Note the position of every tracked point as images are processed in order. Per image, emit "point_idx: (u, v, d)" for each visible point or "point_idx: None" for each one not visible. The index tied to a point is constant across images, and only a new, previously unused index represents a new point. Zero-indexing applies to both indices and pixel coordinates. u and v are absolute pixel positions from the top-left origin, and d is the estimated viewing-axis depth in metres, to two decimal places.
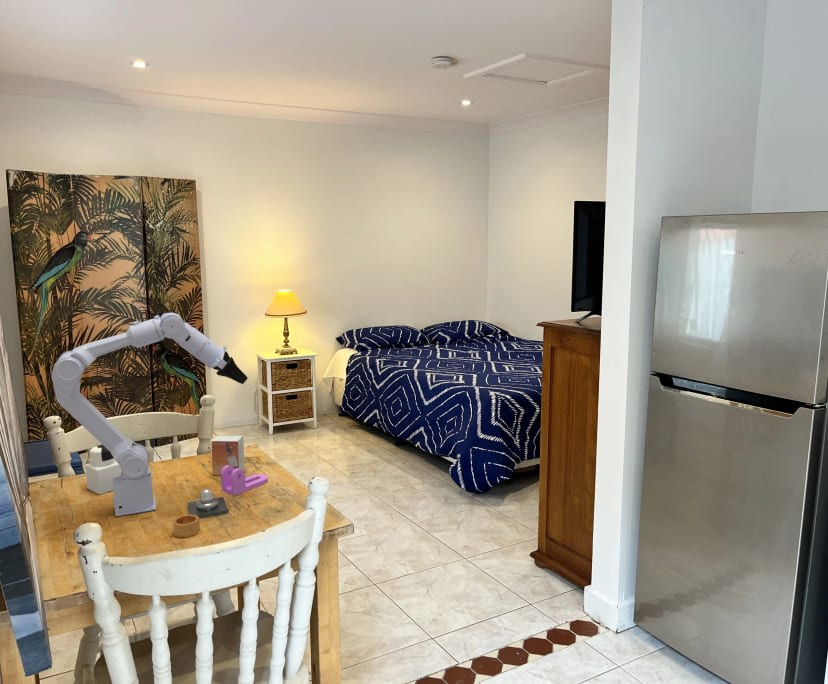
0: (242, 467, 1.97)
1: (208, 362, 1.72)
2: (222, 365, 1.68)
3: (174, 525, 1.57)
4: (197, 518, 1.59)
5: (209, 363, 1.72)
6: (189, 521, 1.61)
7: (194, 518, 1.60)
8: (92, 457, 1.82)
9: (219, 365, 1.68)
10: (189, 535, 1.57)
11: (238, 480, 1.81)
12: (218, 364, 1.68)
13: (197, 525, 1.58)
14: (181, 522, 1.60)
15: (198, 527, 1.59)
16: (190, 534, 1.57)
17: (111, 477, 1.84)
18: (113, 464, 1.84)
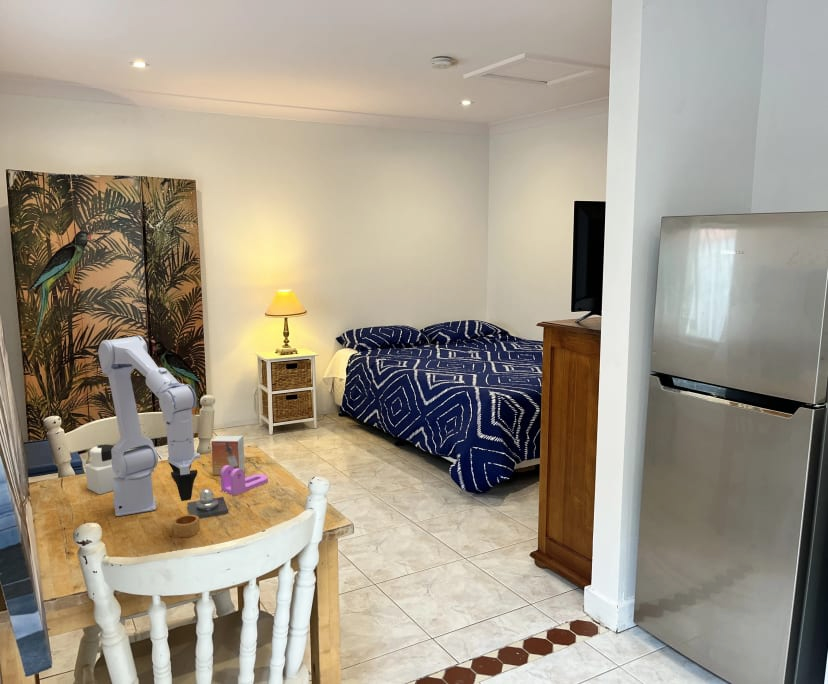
0: (242, 467, 1.97)
1: (173, 457, 1.53)
2: (184, 472, 1.50)
3: (174, 525, 1.57)
4: (197, 518, 1.59)
5: (173, 458, 1.53)
6: (189, 521, 1.61)
7: (194, 518, 1.60)
8: (92, 457, 1.82)
9: (182, 470, 1.49)
10: (189, 535, 1.57)
11: (238, 480, 1.81)
12: (182, 468, 1.49)
13: (197, 525, 1.58)
14: (181, 522, 1.60)
15: (198, 527, 1.59)
16: (190, 534, 1.57)
17: (111, 477, 1.84)
18: None
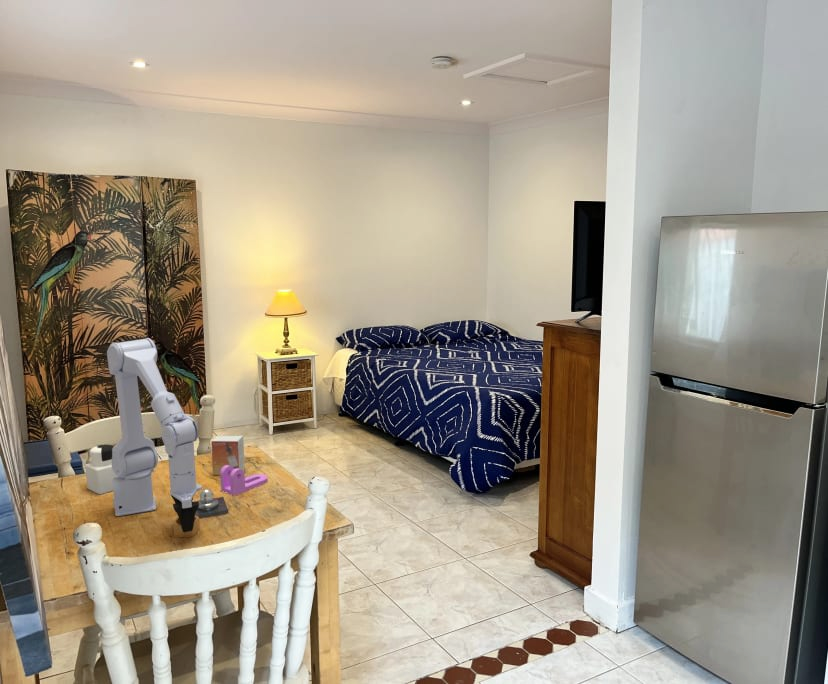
0: (242, 467, 1.97)
1: (175, 489, 1.55)
2: (186, 505, 1.51)
3: (174, 525, 1.57)
4: (197, 518, 1.59)
5: (175, 491, 1.55)
6: None
7: (194, 518, 1.60)
8: (92, 457, 1.82)
9: (184, 503, 1.51)
10: (189, 535, 1.57)
11: (237, 480, 1.81)
12: (184, 502, 1.51)
13: (197, 525, 1.58)
14: None
15: (198, 527, 1.59)
16: (190, 534, 1.57)
17: (111, 477, 1.84)
18: None
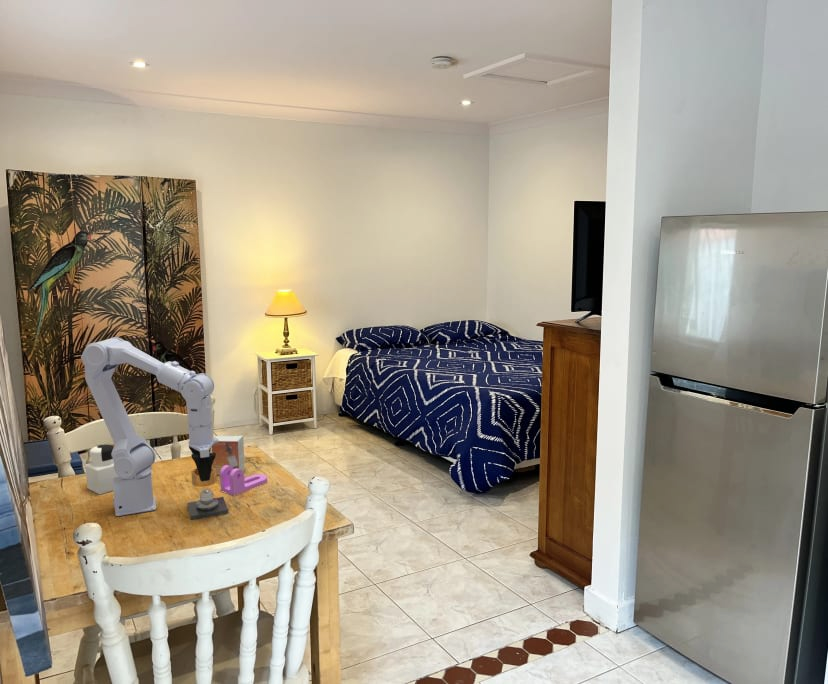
0: (242, 467, 1.97)
1: (194, 441, 1.65)
2: (204, 455, 1.61)
3: (192, 475, 1.67)
4: (214, 469, 1.69)
5: (194, 442, 1.65)
6: None
7: (211, 469, 1.70)
8: (92, 457, 1.82)
9: (202, 453, 1.61)
10: (206, 484, 1.67)
11: (237, 480, 1.81)
12: (202, 451, 1.61)
13: (214, 476, 1.68)
14: None
15: (215, 477, 1.69)
16: (207, 483, 1.67)
17: (111, 477, 1.84)
18: (113, 464, 1.84)
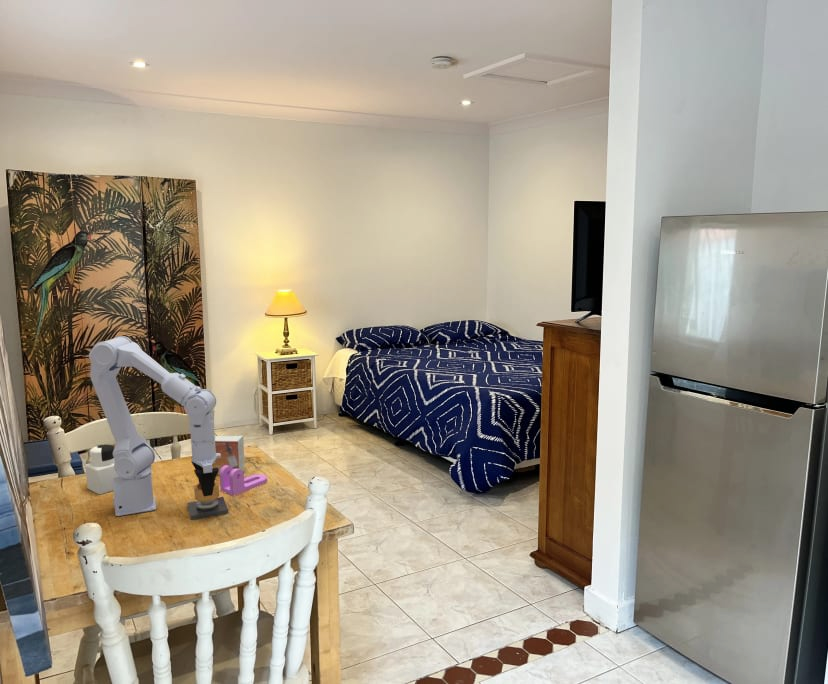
0: (242, 467, 1.97)
1: (197, 456, 1.66)
2: (207, 470, 1.63)
3: (195, 490, 1.68)
4: (216, 484, 1.71)
5: (196, 458, 1.66)
6: None
7: None
8: (92, 457, 1.82)
9: (205, 468, 1.62)
10: (209, 499, 1.68)
11: (237, 480, 1.81)
12: (205, 467, 1.62)
13: (217, 490, 1.70)
14: None
15: (217, 492, 1.70)
16: (210, 498, 1.68)
17: (111, 477, 1.84)
18: (113, 464, 1.84)
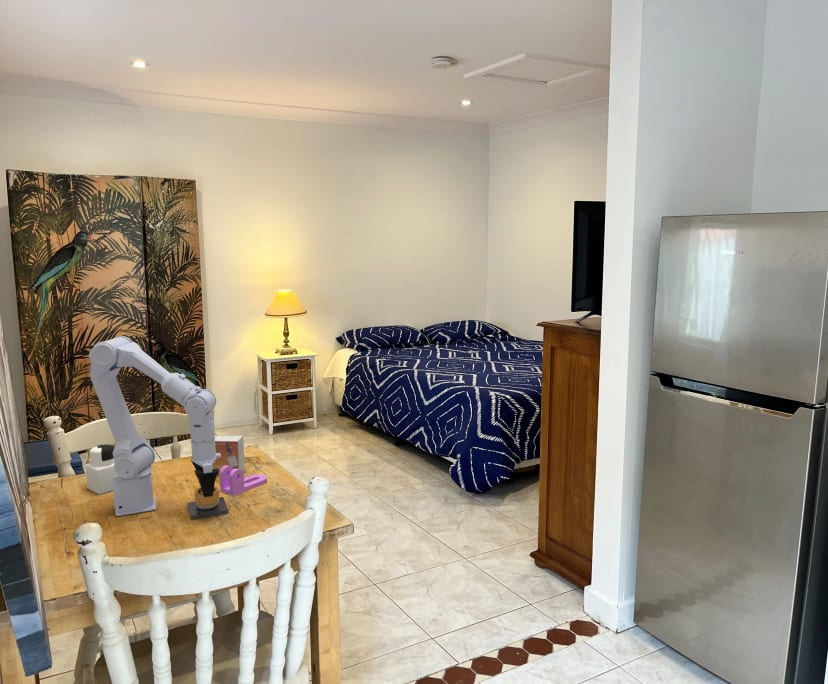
0: (242, 467, 1.97)
1: (197, 456, 1.66)
2: (207, 470, 1.63)
3: (196, 495, 1.69)
4: (217, 489, 1.71)
5: (196, 458, 1.66)
6: None
7: (214, 489, 1.72)
8: (92, 457, 1.82)
9: (205, 468, 1.62)
10: (210, 504, 1.69)
11: (237, 480, 1.81)
12: (205, 467, 1.62)
13: (217, 495, 1.70)
14: None
15: (218, 497, 1.71)
16: (211, 503, 1.69)
17: (111, 477, 1.84)
18: (113, 464, 1.84)
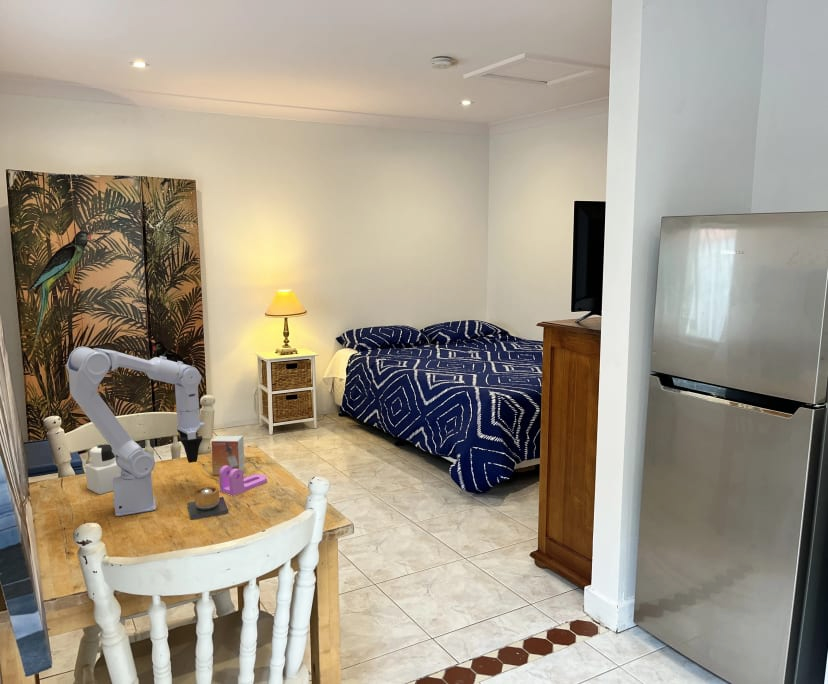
0: (242, 467, 1.97)
1: (182, 424, 1.78)
2: (191, 437, 1.75)
3: (196, 495, 1.69)
4: (217, 489, 1.71)
5: (181, 426, 1.78)
6: None
7: (214, 489, 1.72)
8: (92, 457, 1.82)
9: (189, 435, 1.74)
10: (210, 504, 1.69)
11: (236, 480, 1.80)
12: (189, 434, 1.74)
13: (217, 495, 1.70)
14: None
15: (218, 497, 1.71)
16: (211, 503, 1.69)
17: (111, 477, 1.84)
18: (113, 464, 1.84)
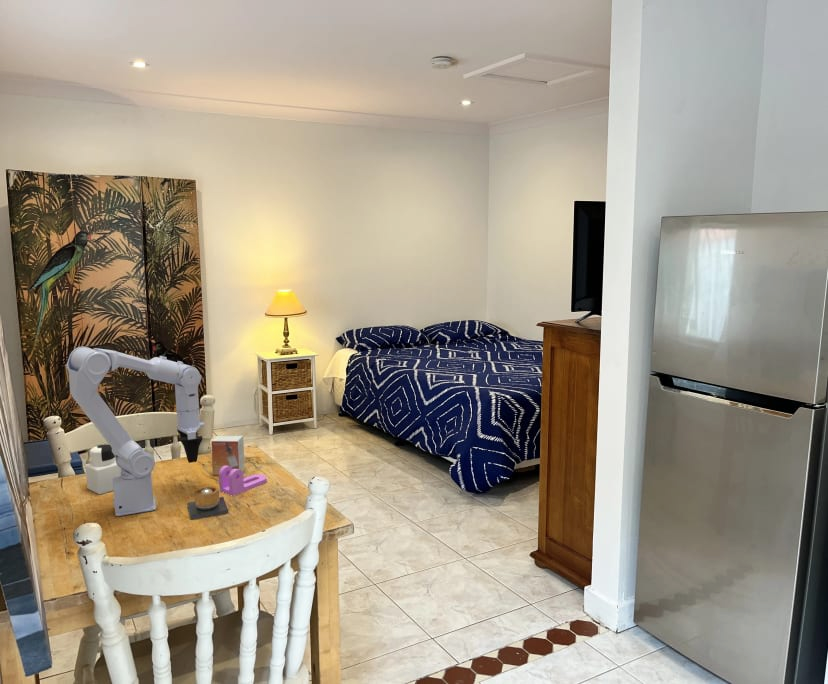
0: (242, 467, 1.97)
1: (182, 424, 1.78)
2: (191, 437, 1.75)
3: (196, 495, 1.69)
4: (217, 489, 1.71)
5: (181, 426, 1.78)
6: None
7: (214, 489, 1.72)
8: (92, 457, 1.82)
9: (189, 435, 1.74)
10: (210, 504, 1.69)
11: (236, 480, 1.80)
12: (189, 434, 1.74)
13: (217, 495, 1.70)
14: None
15: (218, 497, 1.71)
16: (211, 503, 1.69)
17: (111, 477, 1.84)
18: (113, 464, 1.84)
